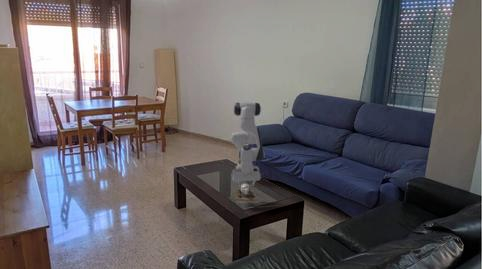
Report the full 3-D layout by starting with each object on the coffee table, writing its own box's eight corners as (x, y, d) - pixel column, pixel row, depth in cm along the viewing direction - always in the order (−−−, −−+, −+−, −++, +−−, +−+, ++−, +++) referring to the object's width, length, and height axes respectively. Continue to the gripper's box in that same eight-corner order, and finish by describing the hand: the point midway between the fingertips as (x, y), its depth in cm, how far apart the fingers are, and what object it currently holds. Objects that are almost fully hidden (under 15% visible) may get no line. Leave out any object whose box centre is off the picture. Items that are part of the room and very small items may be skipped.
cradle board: (232, 192, 258) (232, 188, 258) (253, 191, 261) (253, 187, 261) (237, 204, 237) (237, 200, 237) (259, 203, 240) (259, 199, 239)
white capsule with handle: (240, 192, 256) (240, 183, 254) (247, 192, 257) (247, 183, 255) (242, 198, 246) (242, 189, 244) (250, 197, 247) (250, 188, 245)
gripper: (232, 170, 237) (232, 189, 240) (261, 168, 240) (260, 187, 243) (231, 167, 243) (231, 185, 246) (259, 166, 246) (258, 184, 249)
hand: (246, 186), depth 245 cm, fingers open, 8 cm apart
